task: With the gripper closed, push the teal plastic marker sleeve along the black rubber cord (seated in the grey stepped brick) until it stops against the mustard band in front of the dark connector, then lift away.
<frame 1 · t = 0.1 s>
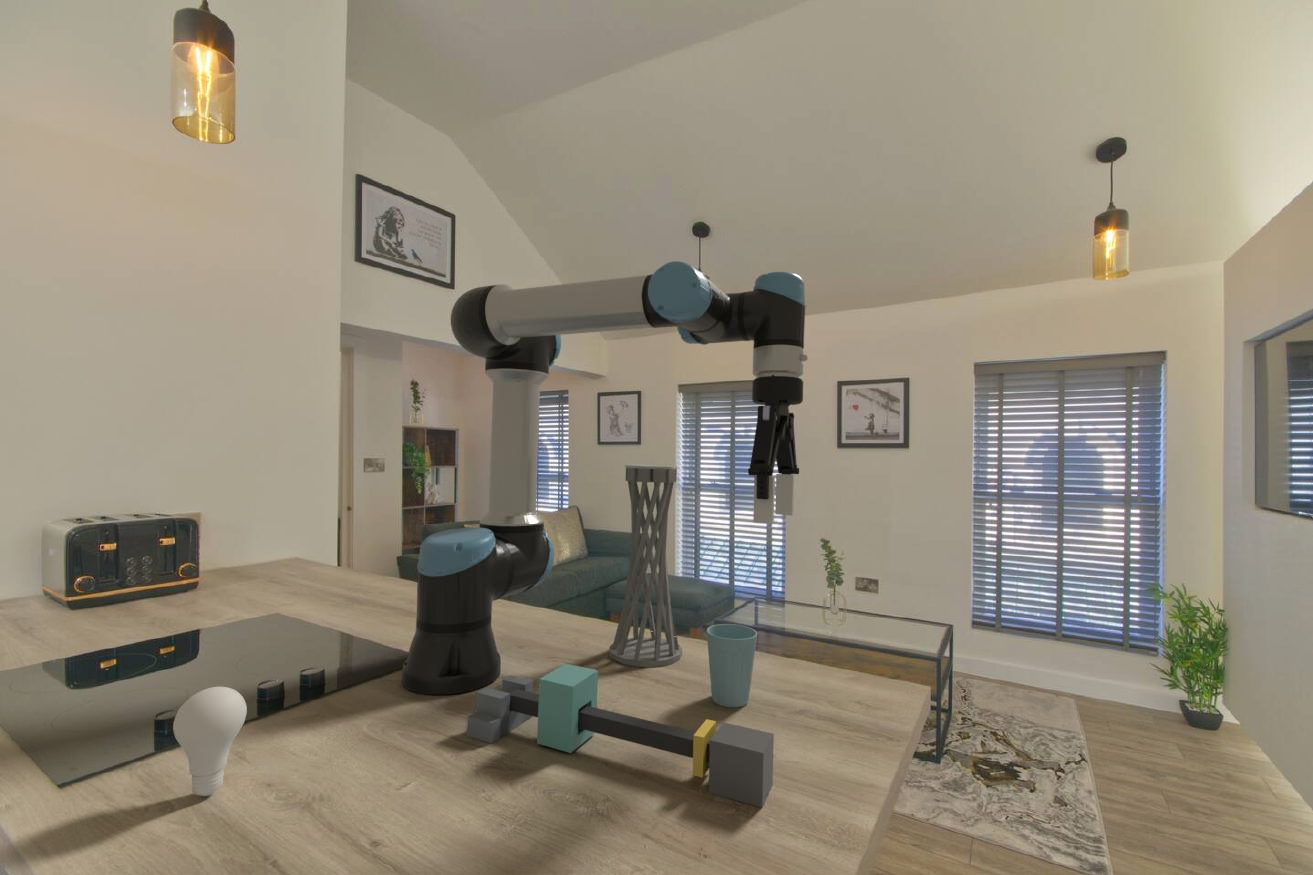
hand: (774, 518, 86), 28 cm above the kitchen island, fingers open, 13 cm apart
sleeve: (568, 705, 74), point 4 cm above the kitchen island, slide at 0.0 cm
lightbulb: (207, 796, 60), on the kitchen island
grey stepped brick: (504, 723, 78), on the kitchen island
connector: (741, 788, 64), on the kitchen island
cup: (730, 701, 87), on the kitchen island
grey lattice tower: (645, 654, 107), on the kitchen island
cord: (622, 755, 70), resting on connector
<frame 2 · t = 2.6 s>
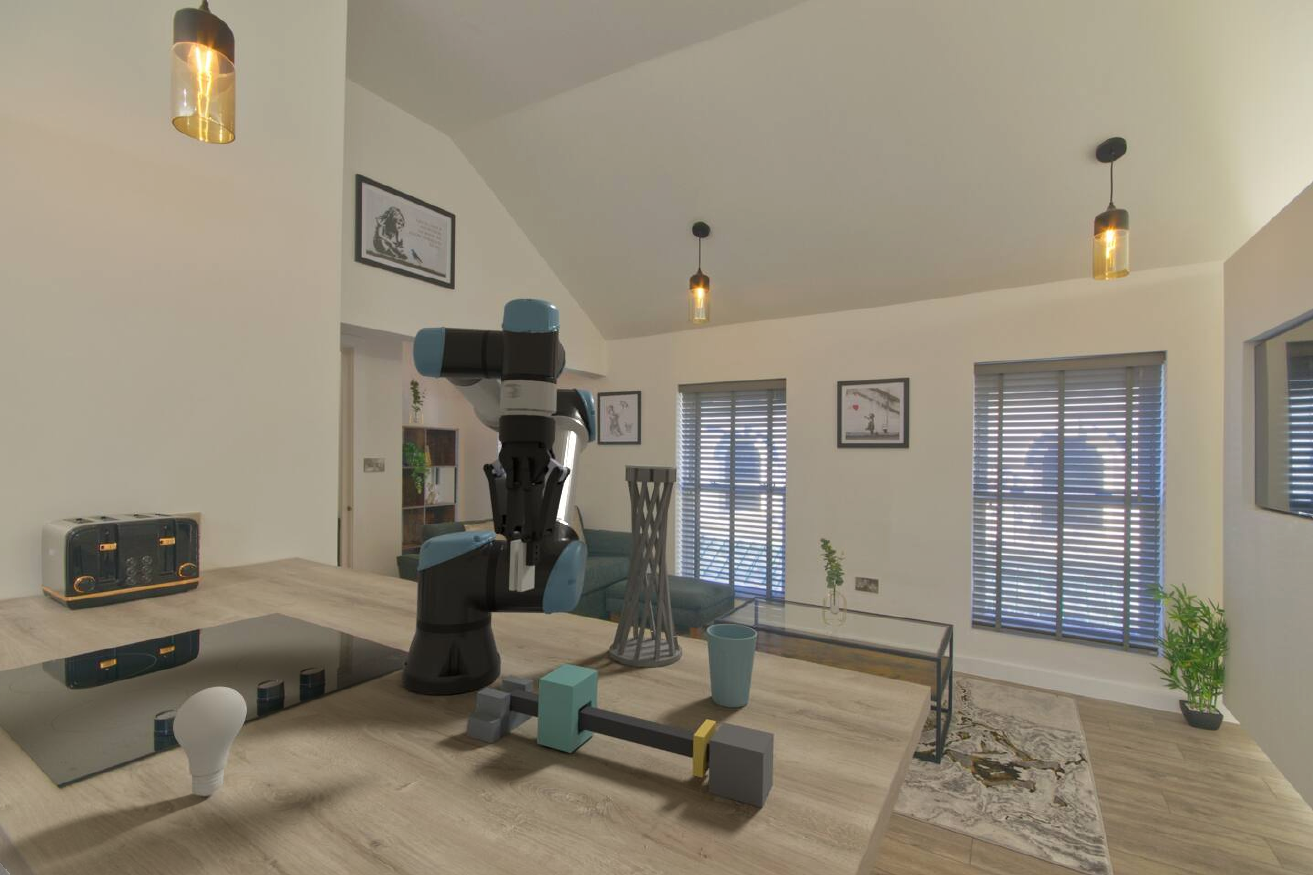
hand: (521, 588, 77), 18 cm above the kitchen island, fingers closed
nothing on the kitchen island moved.
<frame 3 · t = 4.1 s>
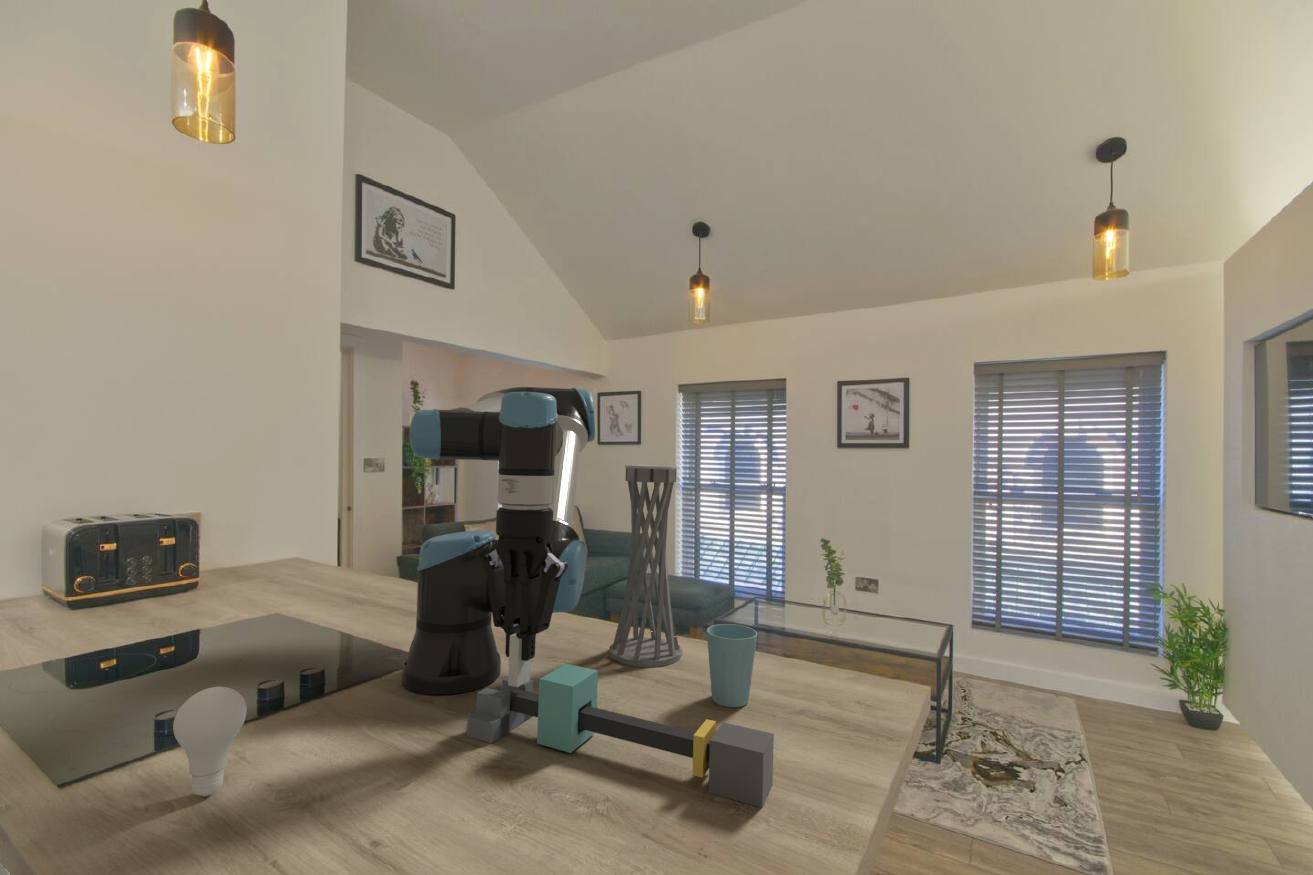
hand: (519, 682, 77), 6 cm above the kitchen island, fingers closed
nothing on the kitchen island moved.
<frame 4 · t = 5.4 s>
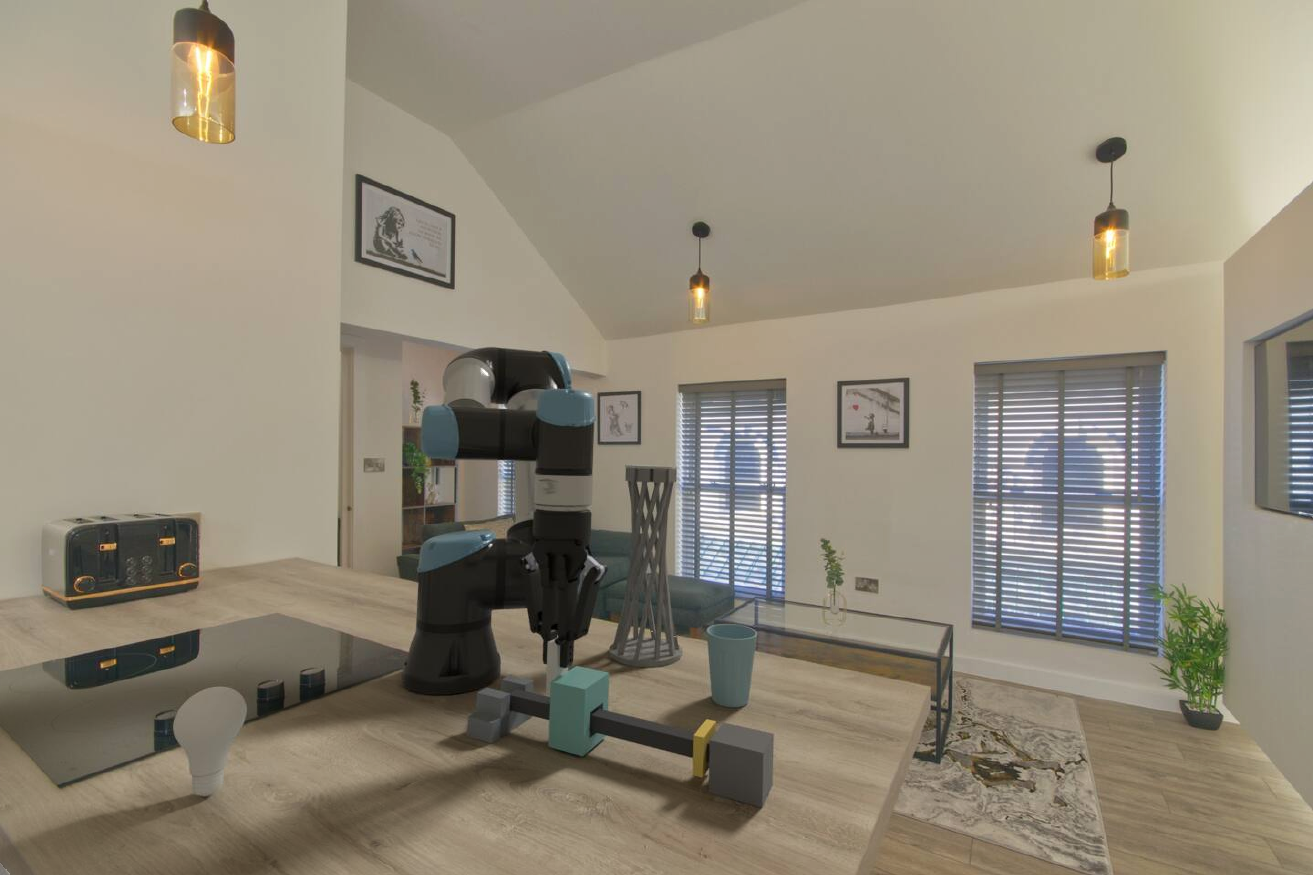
hand: (556, 690, 74), 6 cm above the kitchen island, fingers closed
sleeve: (579, 708, 73), point 4 cm above the kitchen island, slide at 1.7 cm, touching gripper
everything else where it was.
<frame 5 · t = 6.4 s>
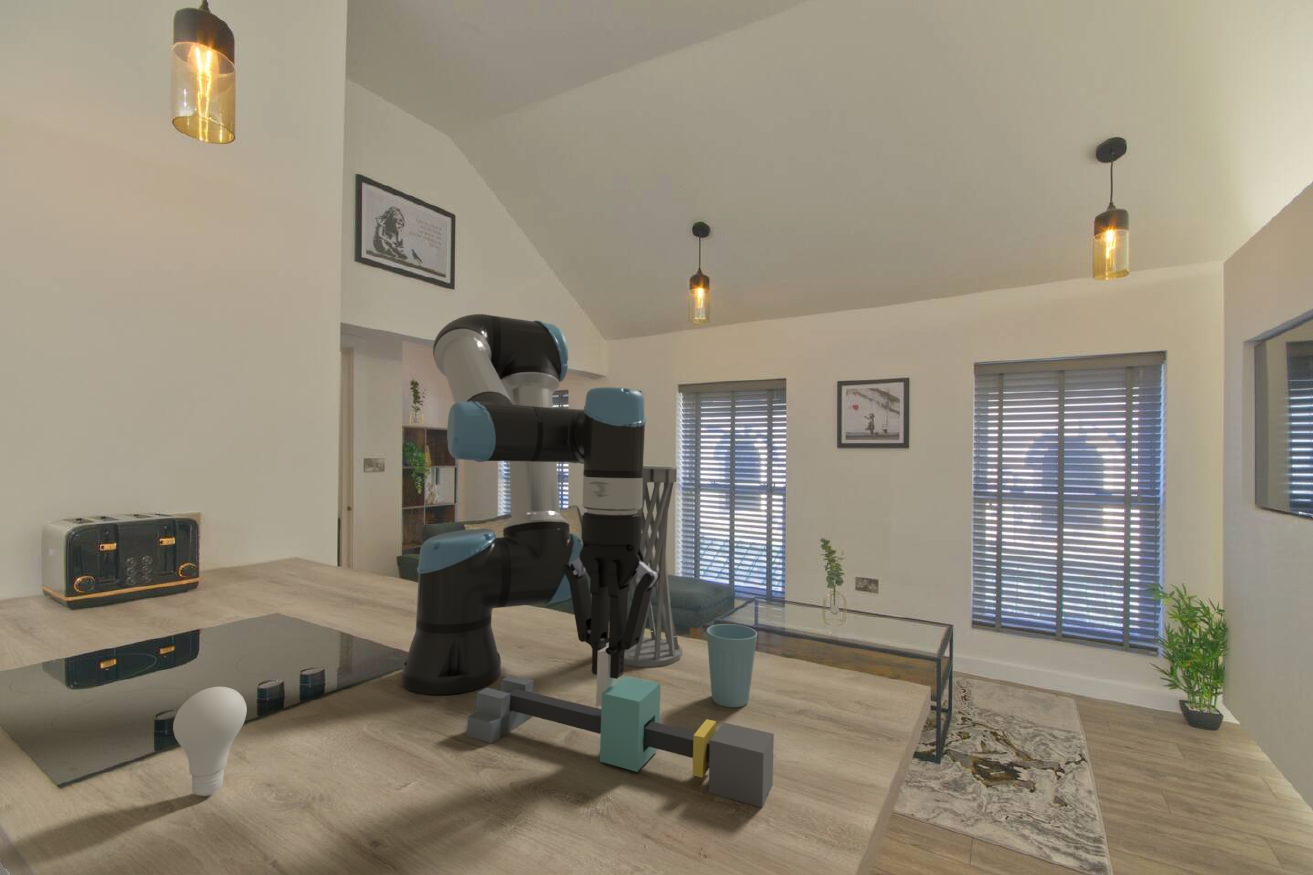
hand: (606, 701, 71), 6 cm above the kitchen island, fingers closed
sleeve: (630, 721, 70), point 4 cm above the kitchen island, slide at 9.1 cm, touching gripper
everything else where it was.
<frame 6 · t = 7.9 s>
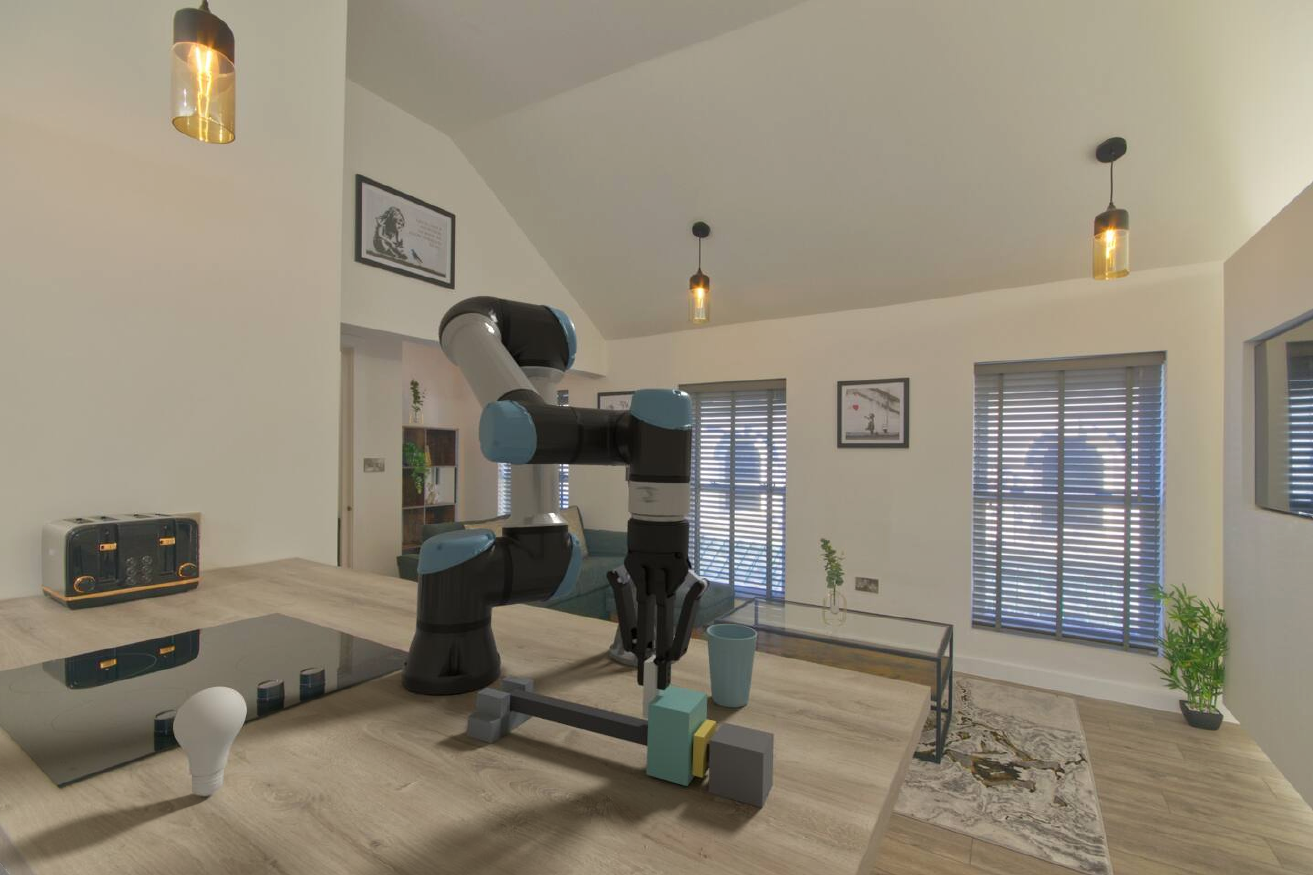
hand: (652, 713, 69), 6 cm above the kitchen island, fingers closed
sleeve: (677, 732, 67), point 4 cm above the kitchen island, slide at 15.2 cm, touching gripper
everything else where it was.
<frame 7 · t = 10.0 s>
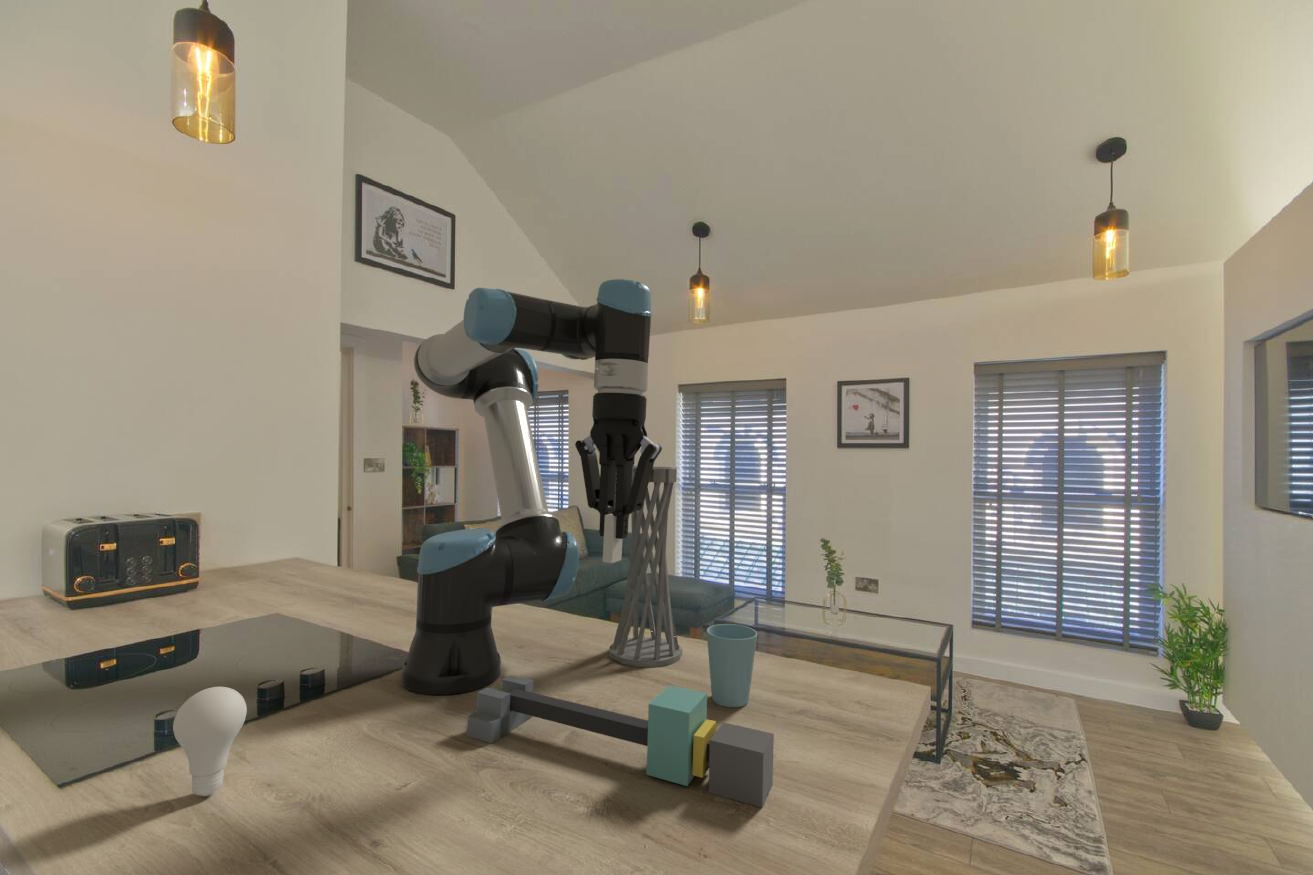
hand: (612, 560, 80), 22 cm above the kitchen island, fingers closed
sleeve: (677, 732, 67), point 4 cm above the kitchen island, slide at 15.2 cm
everything else where it was.
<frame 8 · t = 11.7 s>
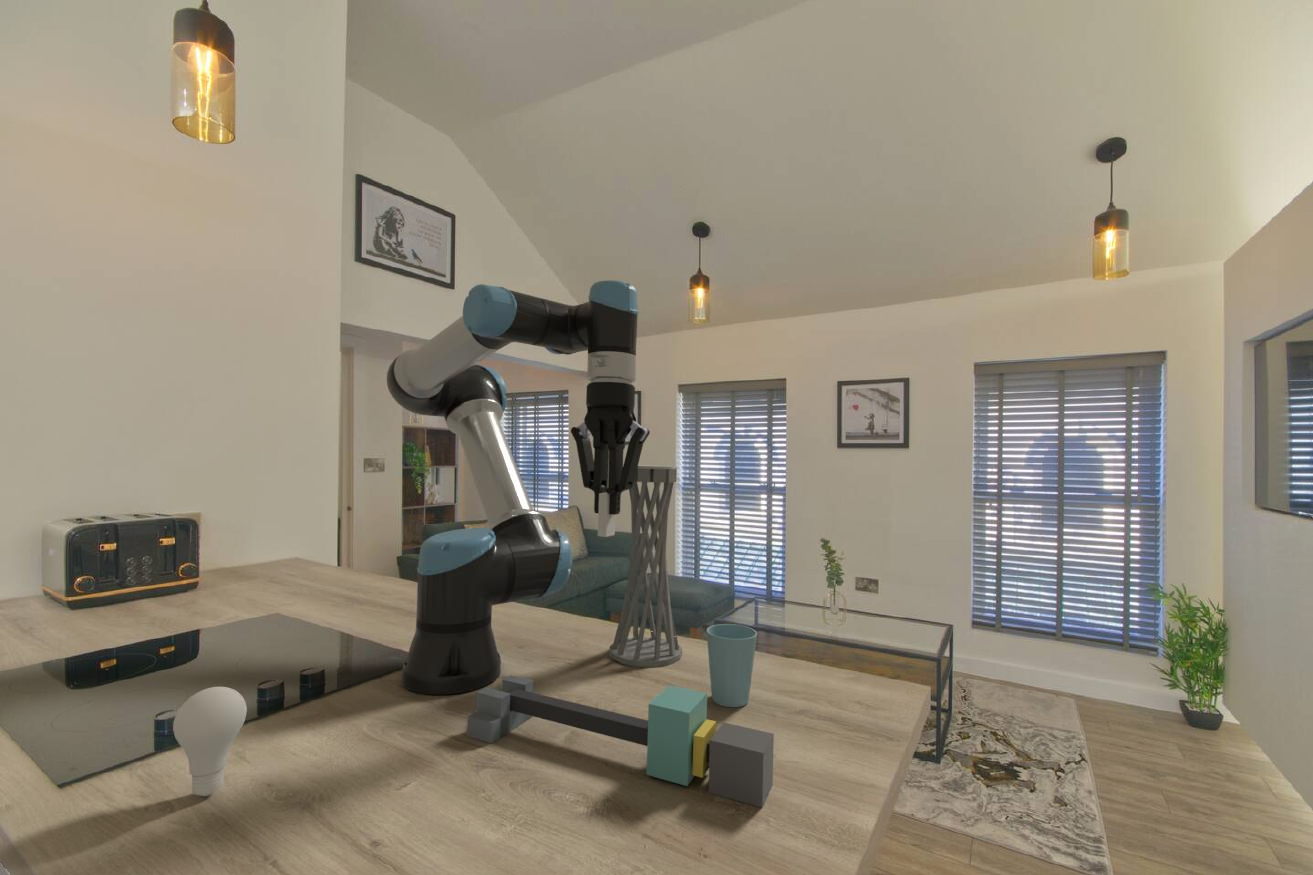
hand: (606, 535, 88), 24 cm above the kitchen island, fingers closed
nothing on the kitchen island moved.
at the end: sleeve slide at 15.2 cm; the gripper is holding nothing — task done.
